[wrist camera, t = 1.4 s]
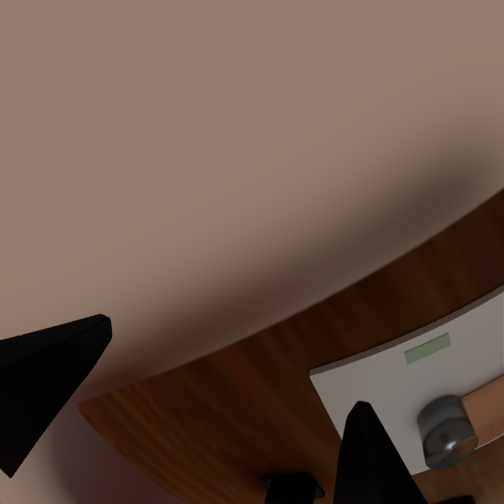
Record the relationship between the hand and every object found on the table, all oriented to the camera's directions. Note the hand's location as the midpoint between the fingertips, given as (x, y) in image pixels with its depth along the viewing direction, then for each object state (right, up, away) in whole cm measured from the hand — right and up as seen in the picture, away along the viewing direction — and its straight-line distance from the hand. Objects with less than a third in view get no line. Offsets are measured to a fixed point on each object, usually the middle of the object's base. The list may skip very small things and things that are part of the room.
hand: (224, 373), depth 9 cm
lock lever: (+22, -10, +10) cm, 26 cm away
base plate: (+19, -11, +12) cm, 25 cm away
